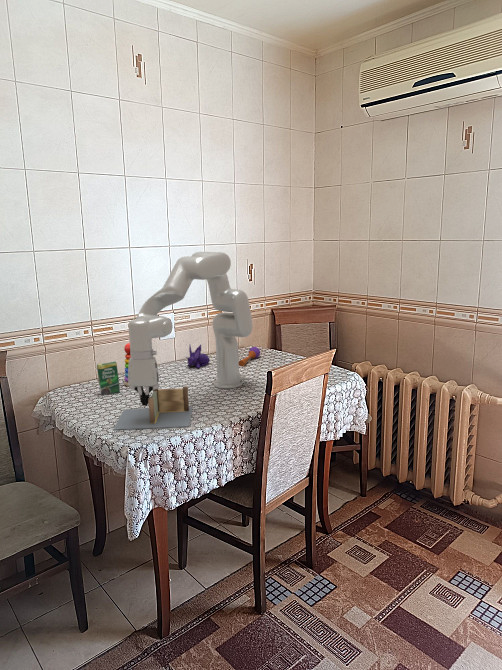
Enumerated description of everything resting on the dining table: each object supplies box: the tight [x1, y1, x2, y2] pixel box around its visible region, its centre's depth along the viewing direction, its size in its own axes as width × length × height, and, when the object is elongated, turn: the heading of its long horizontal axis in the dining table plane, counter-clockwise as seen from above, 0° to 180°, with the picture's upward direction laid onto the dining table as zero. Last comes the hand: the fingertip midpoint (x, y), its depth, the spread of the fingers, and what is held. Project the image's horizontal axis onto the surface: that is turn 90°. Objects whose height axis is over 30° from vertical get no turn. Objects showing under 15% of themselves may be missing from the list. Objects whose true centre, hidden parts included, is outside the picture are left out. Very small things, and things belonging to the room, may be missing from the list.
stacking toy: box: [123, 342, 131, 387], centre depth 217 cm, size 8×8×19 cm
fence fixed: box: [152, 385, 190, 412], centre depth 184 cm, size 13×2×9 cm, turn 93°
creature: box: [185, 344, 210, 369], centre depth 244 cm, size 9×18×12 cm, turn 147°
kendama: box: [239, 346, 261, 367], centre depth 251 cm, size 6×6×20 cm
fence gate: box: [148, 390, 158, 423], centre depth 178 cm, size 11×2×9 cm, turn 2°
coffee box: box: [96, 361, 121, 396], centre depth 207 cm, size 8×3×13 cm, turn 114°
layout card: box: [112, 405, 194, 431], centre depth 180 cm, size 26×19×1 cm
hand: (145, 404), depth 176 cm, fingers closed
